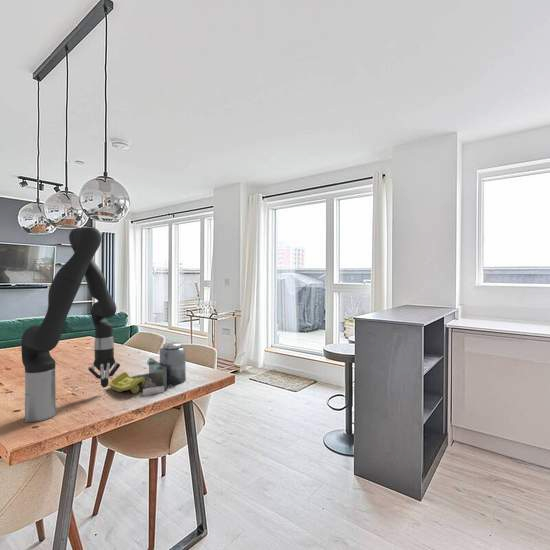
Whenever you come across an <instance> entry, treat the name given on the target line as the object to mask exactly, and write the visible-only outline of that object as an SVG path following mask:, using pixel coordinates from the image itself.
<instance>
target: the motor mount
mask: <svg viewBox="0 0 550 550" xmlns="http://www.w3.org/2000/svg"><path fill="white" fill-rule="evenodd" d="M186 363H187V362H186V346H185V345H184V346H183V343H182V342H174V341H173V342H166V343H163V344H162V347H160V348H159V362H158V361H157V360H156V359H154V358H152V357H149V358H148V360H146V364H147V365H148V372H146V373H140V374H134V375H129V377H130V378H131V379H137V378H140V377H144V379H145V380H150V379H151V380H152V381H151V380H150V381H151V382H152V383H154V384H155V385H156V386H153V387H147V388H143V389H142V396H143V397H145V396H146V397H147V396H150V395H154V394H160V393H164V392H167V391H168V386H174V385H175V384H176V385H180V384H183V383H185V382H186V380H187V379H186V378H187V374H186V370H187V369H186V368H187V367H186ZM148 378H150V379H148ZM176 385H175V386H176Z"/></svg>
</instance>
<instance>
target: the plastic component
mask: <svg viewBox="0 0 550 550" xmlns="http://www.w3.org/2000/svg"><path fill="white" fill-rule="evenodd" d="M127 373H128V372H124V371H123V372H121V373H120V374H119V375H117V376H116V377H115V378H113V379H112V380H111V381H108V386H110V388H111V390H113V389H114V390H113V391H116V392H118V393H122V392H124V391H128V390H130V392H131V393H132V394H133V393H134V394H136V393H138V392H140V390H141V388H140V387H144V386H145V385H147V383H146V379H144V377H140V378H137V379H131V378H130V375H129V374H127Z"/></svg>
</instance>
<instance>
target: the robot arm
mask: <svg viewBox="0 0 550 550" xmlns="http://www.w3.org/2000/svg"><path fill="white" fill-rule="evenodd" d="M68 240H69V243H70V246H71V248H72V251H73V254H72V255H71V257H70V258H69V259H68V261H66V262H65V263H64V264H63V265H62V266H61V268H60V269H59V270H58V271H57V272H56V274H55V275H54V277H53V279H52V281H51V284H50V286H49V290H48V295H47V296H48V297H47V301H48V302H47V303H48V304H47V310H46V314H45V317H44V318H43V320H42V322H41V324H40V325H36V324H35V325H31V326H29V327H28V328H26V329H25V330H24V332H23V333H22V335H21V340H20V342H21V344H20V346H21V347H20V349H21V362H22V365H23V367H24V423H30V422H33V423H34V422H41V421H45V420H47V419H50V418H51V419H52V418H53V417H55V415H57V404H56V403H57V401H56V400H57V399H56V397H57V396H56V393H57V392H56V389H57V387H56V381H57V380H56V375H57V374H56V360H55V359H54V358H53V357H52V356H51V354H50V351H53V350H54V349H55V348H56V347H57V346H58V344H59V341H60V339H61V337H62V333H63V331H64V330H63V329H64V327H65V323H66V320H67V317H68V315H69V312H70V311H71V307H72V305H73V302H74V300H75V298H76V296H77V294H78V292H79V289H80V287H81V285H82V282H83V279H84V278H85V280H86V285H87V288H88V291H89V295H90V297H91V298H93V299H95V300H96V301H95V302H94V303H93V304H92V305H91V307H90V317H91V320H92V323H93V326H94V346H93V349H94V360H93V363H92V364H91V366H88V371H89V372H90V373H91V374H92V375H93V376H94V377H96V379H99V380H100V386H101V387H102V388H107V387H108V386H109V378H111V377H113V376H114V375H115V374H116V372H117V371H118V369H119V368H120V367H121V363H119V362H117V361H116V359H115V356H114V355H115V354H114V353H115V350H114V349H115V347H114V346H115V342H114V327H113V324H112V323H110V322H109V321H108V320H107V319H109V318H113V317H114V316H115V315H116V313H117V305H116V302H115V301H114V299H113V296H112V295H111V293H110V292H109V289H108V286H107V282H106V278H105V276H104V274H103V272H102V269H100V268H99V266H98V265H97V263H96V262H95V260H94V256H95V254H96V252H97V251H98V249H99V247H100V246H101V242H102V234H101V232H100V230H99V229H98V228H96V227H92V226H85V227H84V226H83V227H76V228H73V229H72V230H71V231H70V233H69V235H68ZM112 367H113V368H112ZM96 369H97V370H98V371H99V374H98V372H96Z"/></svg>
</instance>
